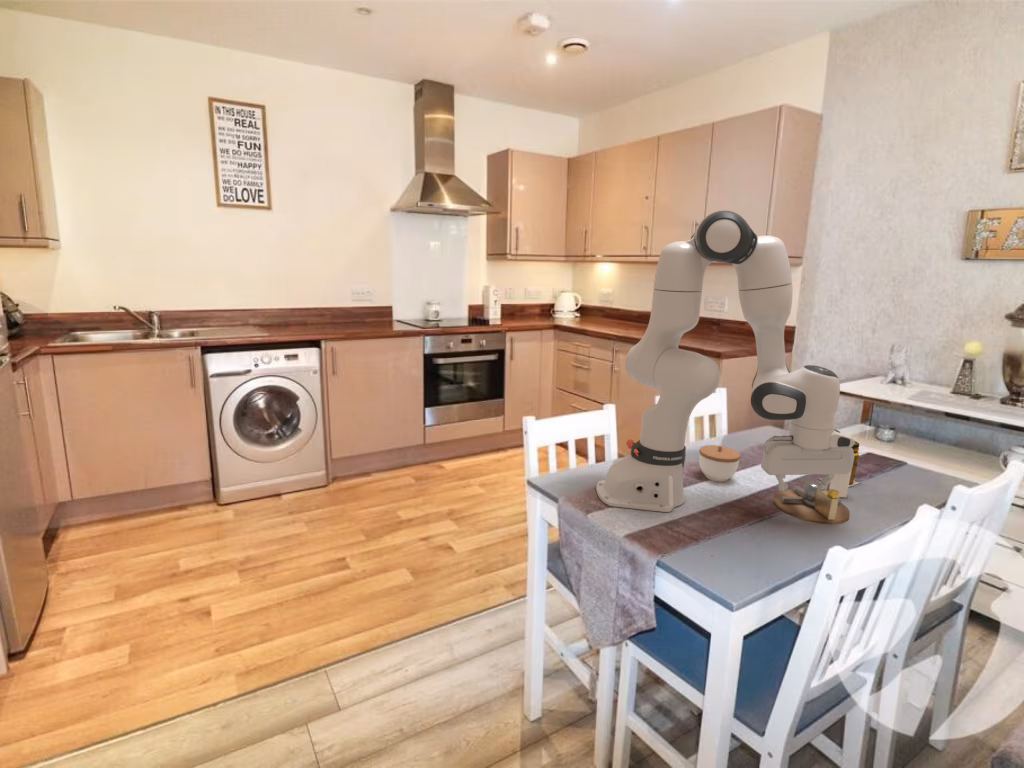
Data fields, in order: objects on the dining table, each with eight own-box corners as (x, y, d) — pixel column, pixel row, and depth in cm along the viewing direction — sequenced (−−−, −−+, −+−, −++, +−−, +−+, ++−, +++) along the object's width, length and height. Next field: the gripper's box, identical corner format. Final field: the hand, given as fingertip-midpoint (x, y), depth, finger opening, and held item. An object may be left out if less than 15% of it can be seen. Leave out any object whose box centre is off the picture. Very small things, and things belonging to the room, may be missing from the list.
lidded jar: (740, 476, 157) (744, 445, 155) (731, 488, 148) (736, 456, 146) (702, 466, 163) (706, 437, 160) (691, 478, 154) (695, 447, 152)
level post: (837, 498, 144) (846, 456, 141) (828, 492, 148) (836, 450, 145) (848, 499, 144) (857, 456, 142) (839, 492, 148) (847, 450, 145)
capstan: (800, 518, 130) (805, 492, 128) (768, 489, 145) (772, 465, 144) (861, 520, 130) (867, 493, 129) (822, 490, 146) (827, 467, 144)
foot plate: (794, 523, 130) (795, 519, 130) (761, 492, 147) (761, 488, 146) (864, 524, 131) (865, 520, 130) (823, 493, 147) (824, 490, 147)
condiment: (859, 483, 155) (867, 443, 152) (844, 489, 151) (852, 448, 148) (833, 474, 161) (840, 435, 158) (818, 479, 156) (825, 440, 154)
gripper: (773, 440, 124) (765, 496, 127) (861, 440, 124) (851, 495, 128) (760, 431, 130) (753, 484, 133) (844, 430, 130) (835, 483, 134)
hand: (802, 489), depth 131 cm, fingers open, 8 cm apart
